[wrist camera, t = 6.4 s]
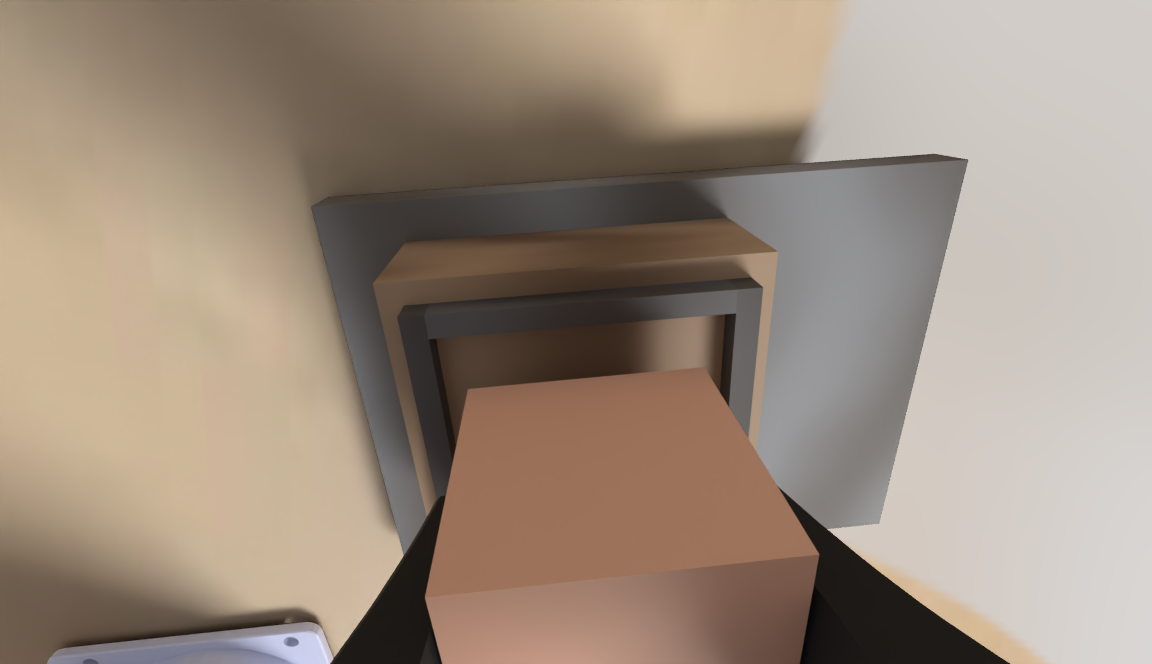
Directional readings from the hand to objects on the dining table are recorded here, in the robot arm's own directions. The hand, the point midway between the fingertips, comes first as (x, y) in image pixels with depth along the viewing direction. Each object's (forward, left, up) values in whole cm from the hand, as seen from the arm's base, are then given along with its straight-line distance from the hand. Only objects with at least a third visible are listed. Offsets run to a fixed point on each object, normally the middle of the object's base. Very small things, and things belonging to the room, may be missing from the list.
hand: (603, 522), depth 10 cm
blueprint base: (+2, -1, -7) cm, 7 cm away
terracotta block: (0, 0, -2) cm, 2 cm away
